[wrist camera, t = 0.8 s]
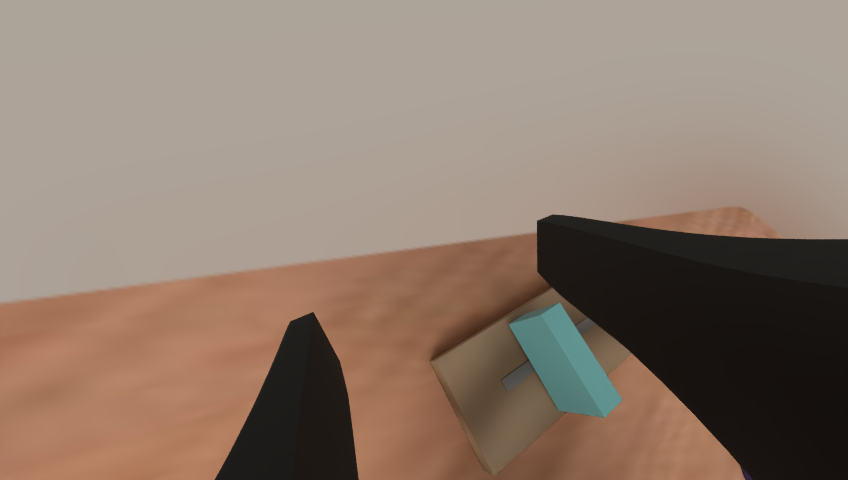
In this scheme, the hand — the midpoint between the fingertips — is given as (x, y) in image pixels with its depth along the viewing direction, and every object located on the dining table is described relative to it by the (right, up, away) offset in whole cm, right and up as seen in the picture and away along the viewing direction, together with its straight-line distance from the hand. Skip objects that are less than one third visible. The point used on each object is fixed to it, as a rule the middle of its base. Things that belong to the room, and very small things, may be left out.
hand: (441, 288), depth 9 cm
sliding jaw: (+8, -7, +13) cm, 17 cm away
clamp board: (+10, -7, +15) cm, 20 cm away
